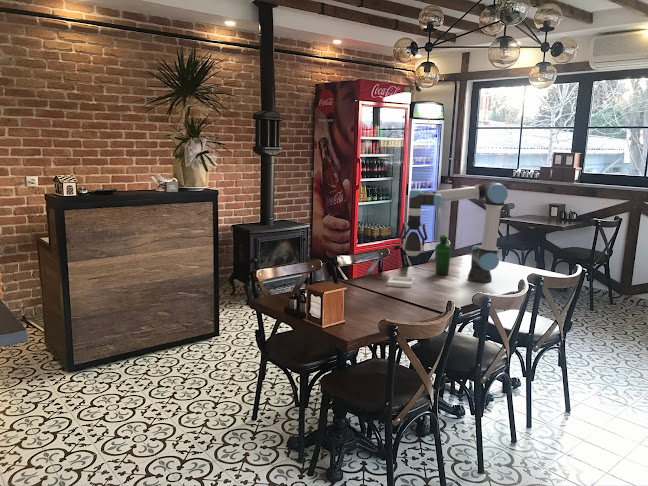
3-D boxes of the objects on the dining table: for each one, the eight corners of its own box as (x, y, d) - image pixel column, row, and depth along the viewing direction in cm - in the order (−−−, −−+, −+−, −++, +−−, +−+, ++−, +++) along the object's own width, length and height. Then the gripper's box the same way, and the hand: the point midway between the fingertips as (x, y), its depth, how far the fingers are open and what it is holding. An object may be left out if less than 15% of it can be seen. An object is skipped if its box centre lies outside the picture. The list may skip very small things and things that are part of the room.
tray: (414, 281, 340) (414, 278, 339) (411, 287, 326) (411, 283, 325) (391, 280, 344) (391, 276, 344) (387, 285, 330) (387, 281, 330)
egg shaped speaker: (419, 253, 334) (421, 230, 331) (421, 257, 324) (422, 232, 321) (403, 253, 335) (404, 229, 332) (404, 256, 325) (405, 232, 322)
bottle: (452, 273, 362) (454, 233, 357) (446, 277, 353) (448, 236, 348) (437, 271, 367) (439, 232, 362) (431, 274, 358) (433, 234, 353)
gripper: (433, 215, 325) (431, 250, 329) (397, 213, 331) (395, 247, 335) (432, 216, 318) (430, 252, 322) (395, 214, 324) (393, 249, 328)
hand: (412, 250), depth 329 cm, fingers closed on egg shaped speaker, 10 cm apart
